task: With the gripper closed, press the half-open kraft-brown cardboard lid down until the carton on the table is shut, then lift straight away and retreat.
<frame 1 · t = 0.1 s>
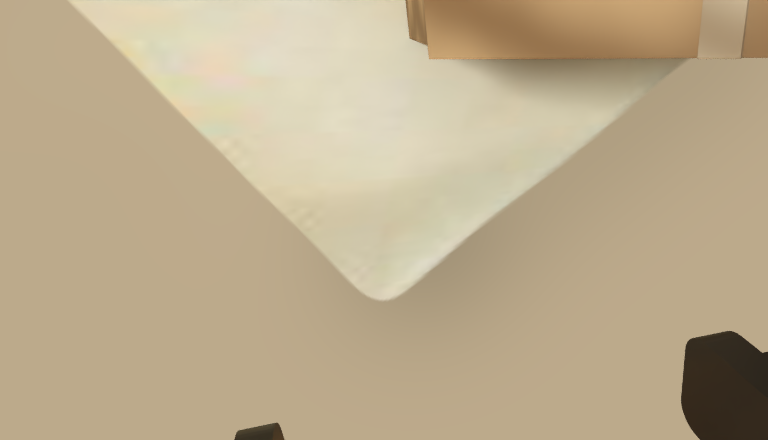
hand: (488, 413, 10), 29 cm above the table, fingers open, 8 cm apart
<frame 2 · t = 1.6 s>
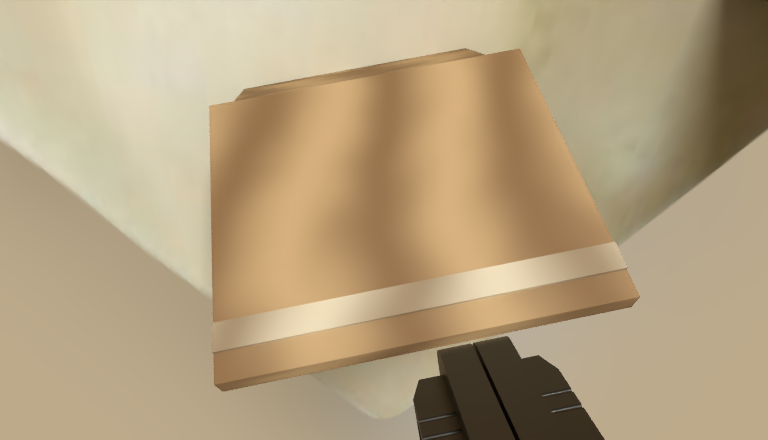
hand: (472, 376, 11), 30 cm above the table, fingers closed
carton lid: (393, 192, 24), point 16 cm above the table, hinge at 55.0°
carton: (372, 161, 41), on the table
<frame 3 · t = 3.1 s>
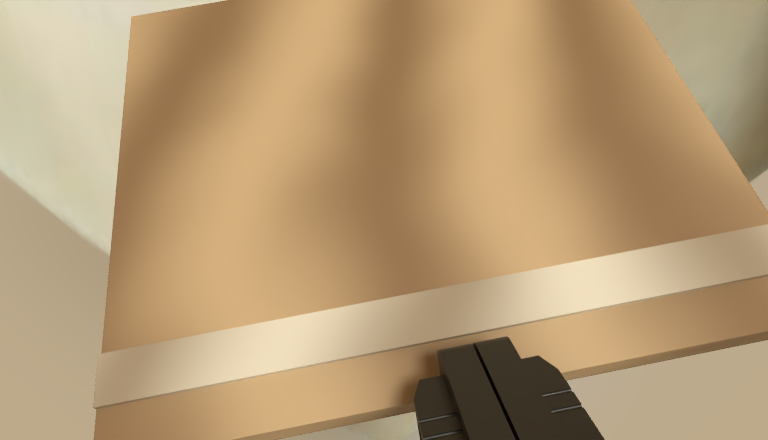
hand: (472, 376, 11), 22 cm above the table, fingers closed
carton lid: (407, 143, 15), point 16 cm above the table, hinge at 53.7°, touching gripper
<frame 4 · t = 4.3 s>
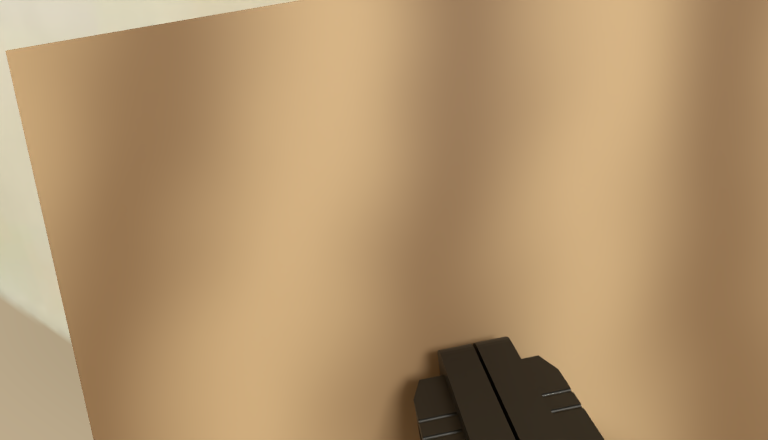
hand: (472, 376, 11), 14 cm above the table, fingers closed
carton lid: (461, 315, 12), point 13 cm above the table, hinge at 20.0°, touching gripper
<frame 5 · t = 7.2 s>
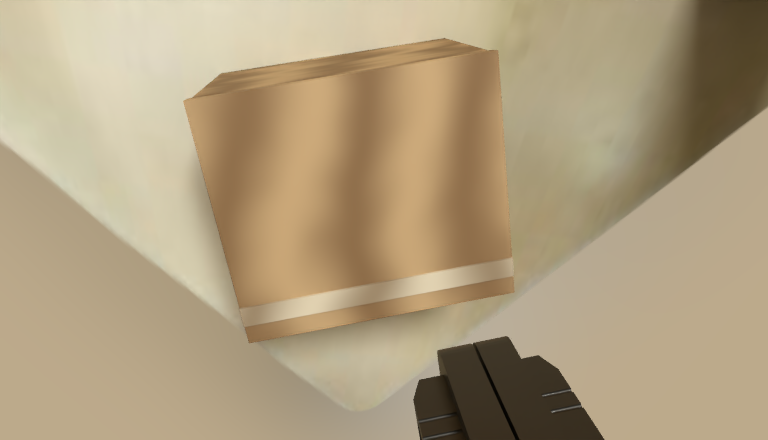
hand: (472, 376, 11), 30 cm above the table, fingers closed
carton lid: (364, 204, 30), point 11 cm above the table, hinge at 3.1°
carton: (350, 150, 40), on the table
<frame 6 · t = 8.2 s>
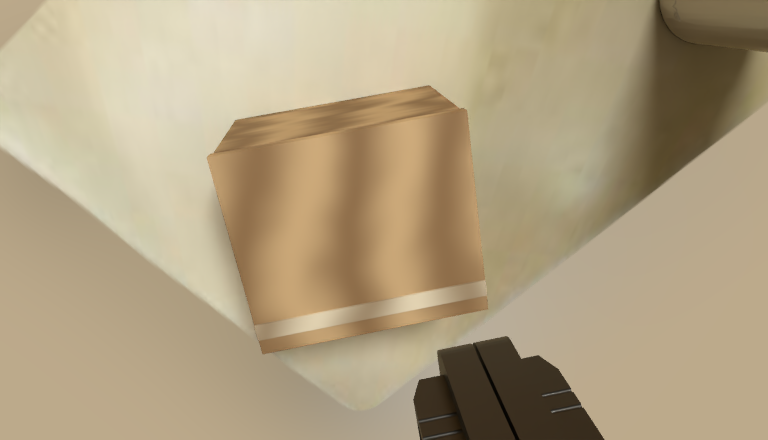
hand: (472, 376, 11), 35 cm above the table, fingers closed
carton lid: (358, 237, 36), point 11 cm above the table, hinge at 3.1°
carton: (348, 182, 46), on the table
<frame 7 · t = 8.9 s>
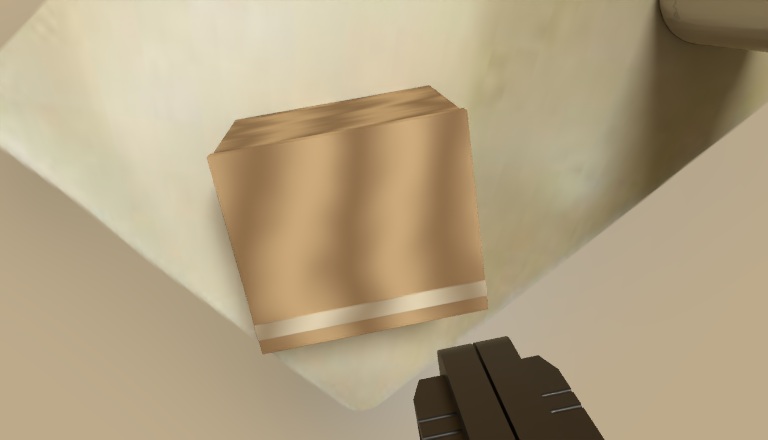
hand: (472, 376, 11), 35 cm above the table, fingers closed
carton lid: (358, 237, 36), point 11 cm above the table, hinge at 3.1°
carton: (348, 182, 46), on the table
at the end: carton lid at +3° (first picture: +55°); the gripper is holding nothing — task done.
